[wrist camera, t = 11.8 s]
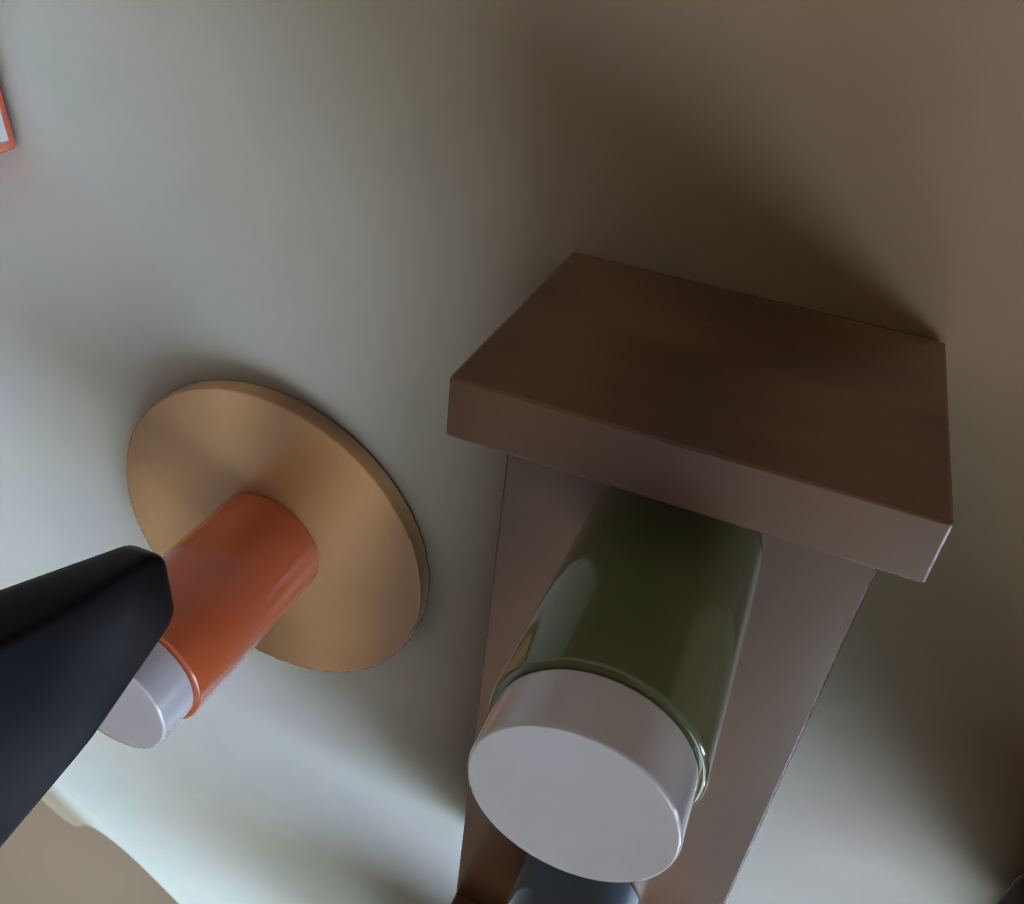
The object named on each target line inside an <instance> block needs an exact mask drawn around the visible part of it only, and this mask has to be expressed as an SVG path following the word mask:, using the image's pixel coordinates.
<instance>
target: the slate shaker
mask: <svg viewBox="0 0 1024 904" xmlns="http://www.w3.org/2000/svg"><path fill="white" fill-rule="evenodd" d="M506 904H640V903H639V898H638V896H637V893H636V892H635V890H634V888H633V887H632V885H631V884H630V883H629V882H626V883H615V882H603V881H597V880H592V879H587V878H583V877H579V876H576V875H573V874H570V873H567V872H565V871H562V870H560V869H557V868H555V867H553V866H551V865H548V864H546V863H544V862H542V861H541V860H539V859H537V858H535V857H534V856H532V855H530V854H528V855H527V856H526V857H525V859H524V861H523V863H522V866H521V868H520V870H519V873H518V875H517V878H516V880H515V882H514V885H513V887H512V890H511V892H510V895H509V897H508V899H507V902H506Z"/></svg>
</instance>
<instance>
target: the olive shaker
mask: <svg viewBox="0 0 1024 904" xmlns="http://www.w3.org/2000/svg"><path fill="white" fill-rule="evenodd" d="M761 565H762V547H761V542H760V538H759V535H758V533H757V531H754V530H750V529H747V528H744V527H741V526H738V525H734V524H731V523H728V522H725V521H722V520H718V519H715V518H712V517H709V516H706V515H702V514H699V513H696V512H693V511H690V510H686V509H683V508H680V507H677V506H674V505H670V504H667V503H664V502H661V501H658V500H654V499H651V498H648V497H645V496H642V495H638V494H635V493H632V492H629V491H626V490H622V489H619V488H616V487H613V486H608V487H607V488H606V489H605V490H604V491H603V492H602V493H601V494H600V495H599V497H598V498H597V499H596V501H595V502H594V504H593V506H592V508H591V510H590V511H589V513H588V515H587V517H586V519H585V521H584V522H583V524H582V526H581V528H580V530H579V532H578V534H577V535H576V537H575V539H574V541H573V543H572V545H571V546H570V548H569V550H568V552H567V554H566V556H565V557H564V559H563V561H562V563H561V565H560V567H559V568H558V570H557V572H556V574H555V576H554V578H553V579H552V581H551V583H550V585H549V587H548V589H547V590H546V592H545V594H544V596H543V598H542V600H541V601H540V603H539V605H538V607H537V609H536V611H535V613H534V614H533V616H532V618H531V620H530V622H529V624H528V625H527V627H526V629H525V631H524V633H523V635H522V636H521V638H520V640H519V642H518V644H517V646H516V647H515V649H514V651H513V653H512V655H511V657H510V658H509V660H508V662H507V664H506V666H505V668H504V669H503V671H502V673H501V675H500V677H499V679H498V680H497V682H496V684H495V686H494V689H493V691H492V693H491V697H490V702H489V716H488V718H487V720H486V722H485V724H484V726H483V728H482V730H481V732H480V733H479V735H478V737H477V739H476V741H475V743H474V745H473V747H472V749H471V751H470V754H469V758H468V779H469V784H470V787H471V790H472V793H473V795H474V797H475V799H476V801H477V803H478V804H479V806H480V808H481V809H482V811H483V812H484V813H485V815H486V816H487V817H488V819H489V820H490V821H491V822H492V823H493V824H494V825H495V826H496V828H497V829H498V830H499V831H500V832H501V833H503V834H504V835H505V836H506V837H507V838H508V839H509V840H511V841H512V842H513V843H514V844H516V845H517V846H518V847H520V848H521V849H523V850H524V851H526V852H527V853H529V854H530V855H532V856H534V857H535V858H537V859H539V860H541V861H542V862H544V863H546V864H548V865H551V866H553V867H555V868H557V869H560V870H562V871H565V872H567V873H570V874H573V875H576V876H579V877H583V878H587V879H592V880H597V881H603V882H615V883H626V882H636V881H642V880H646V879H649V878H652V877H654V876H656V875H658V874H660V873H662V872H664V871H665V870H666V869H667V868H669V867H670V866H671V865H672V864H673V862H674V861H675V860H676V859H677V857H678V855H679V853H680V851H681V849H682V845H683V841H684V837H685V833H686V829H687V825H688V821H689V817H690V813H691V810H692V808H693V807H694V806H695V805H696V804H697V803H698V802H699V800H700V799H701V798H702V797H703V795H704V793H705V791H706V789H707V786H708V782H709V779H710V775H711V770H712V766H713V762H714V758H715V754H716V750H717V746H718V742H719V738H720V734H721V729H722V725H723V721H724V717H725V713H726V709H727V705H728V701H729V697H730V692H731V688H732V684H733V680H734V676H735V672H736V668H737V664H738V660H739V656H740V651H741V647H742V643H743V639H744V635H745V631H746V627H747V623H748V619H749V614H750V610H751V606H752V602H753V598H754V594H755V590H756V586H757V582H758V578H759V573H760V569H761Z"/></svg>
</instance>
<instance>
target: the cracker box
mask: <svg viewBox="0 0 1024 904" xmlns="http://www.w3.org/2000/svg"><path fill="white" fill-rule="evenodd" d="M15 146H16V141H15V138H14V134H13V130H12V126H11V123H10V119H9V116H8V113H7V109H6V106H5V103H4V99H3V95H2V91H1V87H0V153H2V152H5V151H8V150H11V149H13V148H15Z"/></svg>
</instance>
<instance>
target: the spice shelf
mask: <svg viewBox="0 0 1024 904" xmlns="http://www.w3.org/2000/svg"><path fill="white" fill-rule="evenodd" d="M447 434H448V435H449V436H453V437H456V438H459V439H462V440H465V441H469V442H472V443H475V444H478V445H481V446H485V447H488V448H491V449H494V450H497V451H501V452H504V453H507V454H508V456H507V465H506V473H505V482H504V490H503V499H502V508H501V516H500V525H499V533H498V542H497V550H496V559H495V568H494V576H493V585H492V593H491V602H490V610H489V619H488V628H487V636H486V645H485V653H484V662H483V671H482V679H481V688H480V696H479V705H478V713H477V722H476V731H475V739H474V743H475V741H476V739H477V737H478V735H479V733H480V732H481V730H482V728H483V726H484V724H485V722H486V720H487V718H488V716H489V702H490V697H491V693H492V691H493V689H494V686H495V684H496V682H497V680H498V679H499V677H500V675H501V673H502V671H503V669H504V668H505V666H506V664H507V662H508V660H509V658H510V657H511V655H512V653H513V651H514V649H515V647H516V646H517V644H518V642H519V640H520V638H521V636H522V635H523V633H524V631H525V629H526V627H527V625H528V624H529V622H530V620H531V618H532V616H533V614H534V613H535V611H536V609H537V607H538V605H539V603H540V601H541V600H542V598H543V596H544V594H545V592H546V590H547V589H548V587H549V585H550V583H551V581H552V579H553V578H554V576H555V574H556V572H557V570H558V568H559V567H560V565H561V563H562V561H563V559H564V557H565V556H566V554H567V552H568V550H569V548H570V546H571V545H572V543H573V541H574V539H575V537H576V535H577V534H578V532H579V530H580V528H581V526H582V524H583V522H584V521H585V519H586V517H587V515H588V513H589V511H590V510H591V508H592V506H593V504H594V502H595V501H596V499H597V498H598V497H599V495H600V494H601V493H602V492H603V491H604V490H605V489H606V488H607V487H608V486H613V487H616V488H619V489H622V490H626V491H629V492H632V493H635V494H638V495H642V496H645V497H648V498H651V499H654V500H658V501H661V502H664V503H667V504H670V505H674V506H677V507H680V508H683V509H686V510H690V511H693V512H696V513H699V514H702V515H706V516H709V517H712V518H715V519H718V520H722V521H725V522H728V523H731V524H734V525H738V526H741V527H744V528H747V529H750V530H754V531H757V533H758V535H759V538H760V542H761V547H762V565H761V569H760V573H759V578H758V582H757V586H756V590H755V594H754V598H753V602H752V606H751V610H750V614H749V619H748V623H747V627H746V631H745V635H744V639H743V643H742V647H741V651H740V656H739V660H738V664H737V668H736V672H735V676H734V680H733V684H732V688H731V692H730V697H729V701H728V705H727V709H726V713H725V717H724V721H723V725H722V729H721V734H720V738H719V742H718V746H717V750H716V754H715V758H714V762H713V766H712V770H711V775H710V779H709V782H708V786H707V789H706V791H705V793H704V795H703V797H702V798H701V799H700V800H699V802H698V803H697V804H696V805H695V806H694V807H693V808H692V810H691V813H690V817H689V821H688V825H687V829H686V833H685V837H684V841H683V845H682V849H681V851H680V853H679V855H678V857H677V859H676V860H675V861H674V862H673V864H672V865H671V866H670V867H669V868H667V869H666V870H665V871H664V872H662V873H660V874H658V875H656V876H654V877H652V878H649V879H646V880H642V881H636V882H629V883H630V884H631V885H632V887H633V888H634V890H635V892H636V893H637V896H638V898H639V903H640V904H725V903H726V901H727V898H728V896H729V894H730V892H731V890H732V887H733V885H734V883H735V881H736V879H737V876H738V874H739V872H740V870H741V868H742V865H743V863H744V861H745V859H746V857H747V854H748V852H749V850H750V848H751V846H752V843H753V841H754V839H755V837H756V835H757V832H758V830H759V828H760V826H761V824H762V821H763V819H764V817H765V815H766V812H767V810H768V808H769V806H770V804H771V801H772V799H773V797H774V795H775V793H776V790H777V788H778V786H779V784H780V782H781V779H782V777H783V775H784V773H785V771H786V768H787V766H788V764H789V762H790V760H791V757H792V755H793V753H794V751H795V749H796V746H797V744H798V742H799V740H800V738H801V735H802V733H803V731H804V729H805V727H806V724H807V722H808V720H809V718H810V716H811V713H812V711H813V709H814V707H815V705H816V702H817V700H818V698H819V696H820V694H821V691H822V689H823V687H824V685H825V683H826V680H827V678H828V676H829V674H830V672H831V669H832V667H833V665H834V663H835V661H836V658H837V656H838V654H839V652H840V650H841V647H842V645H843V643H844V641H845V639H846V636H847V634H848V632H849V630H850V628H851V625H852V623H853V621H854V619H855V617H856V614H857V612H858V610H859V608H860V606H861V603H862V601H863V599H864V597H865V595H866V592H867V590H868V588H869V586H870V584H871V581H872V579H873V577H874V575H875V573H876V570H877V569H879V570H882V571H885V572H888V573H891V574H895V575H898V576H901V577H904V578H907V579H911V580H914V581H917V582H920V583H923V582H925V581H926V579H927V577H928V575H929V573H930V571H931V569H932V567H933V565H934V563H935V561H936V559H937V557H938V555H939V553H940V551H941V549H942V547H943V545H944V543H945V541H946V539H947V537H948V535H949V533H950V531H951V529H952V527H953V504H952V482H951V461H950V439H949V417H948V395H947V373H946V351H945V343H943V342H939V341H935V340H931V339H927V338H923V337H919V336H914V335H910V334H906V333H902V332H898V331H894V330H890V329H886V328H882V327H877V326H873V325H869V324H865V323H861V322H857V321H853V320H849V319H845V318H840V317H836V316H832V315H828V314H824V313H820V312H816V311H812V310H808V309H803V308H799V307H795V306H791V305H787V304H783V303H779V302H775V301H771V300H767V299H762V298H758V297H754V296H750V295H746V294H742V293H738V292H734V291H730V290H725V289H721V288H717V287H713V286H709V285H705V284H701V283H697V282H693V281H688V280H684V279H680V278H676V277H672V276H668V275H664V274H660V273H656V272H652V271H647V270H643V269H639V268H635V267H631V266H627V265H623V264H619V263H615V262H610V261H606V260H602V259H598V258H594V257H590V256H586V255H582V254H578V253H572V254H571V255H570V256H569V257H568V258H567V259H566V260H565V261H564V262H563V263H562V264H561V265H560V266H559V267H558V268H557V269H556V270H555V271H554V272H553V273H552V274H551V275H550V276H549V277H548V278H547V279H546V280H545V281H544V282H543V283H542V284H541V285H540V286H539V287H538V288H537V289H536V290H535V291H534V292H533V294H532V295H531V296H530V297H529V298H528V299H527V300H526V301H525V302H524V303H523V304H522V305H521V306H520V307H519V308H518V309H517V310H516V311H515V312H514V313H513V314H512V315H511V316H510V317H509V318H508V319H507V320H506V321H505V322H504V323H503V324H502V325H501V326H500V327H499V328H498V329H497V330H496V331H495V332H494V333H493V334H492V335H491V336H490V337H489V338H488V339H487V340H486V341H485V342H484V343H483V344H482V345H481V346H480V347H479V348H478V349H477V350H476V351H475V352H474V353H473V354H472V355H471V356H470V357H469V358H468V359H467V360H466V361H465V362H464V363H463V364H462V366H461V367H460V368H459V369H458V370H457V371H456V372H455V373H454V374H453V375H452V376H451V377H450V390H449V405H448V420H447ZM528 854H529V853H527V852H526V851H524V850H523V849H521V848H520V847H518V846H517V845H516V844H514V843H513V842H512V841H511V840H509V839H508V838H507V837H506V836H505V835H504V834H503V833H501V832H500V831H499V830H498V829H497V828H496V826H495V825H494V824H493V823H492V822H491V821H490V820H489V819H488V817H487V816H486V815H485V813H484V812H483V811H482V809H481V808H480V806H479V804H478V803H477V801H476V799H475V797H474V795H473V793H472V790H471V787H470V784H469V791H468V799H467V808H466V816H465V825H464V834H463V842H462V851H461V859H460V868H459V876H458V885H457V893H456V895H455V897H454V899H453V901H452V903H451V904H506V902H507V899H508V897H509V895H510V892H511V890H512V887H513V885H514V882H515V880H516V878H517V875H518V873H519V870H520V868H521V866H522V863H523V861H524V859H525V857H526V856H527V855H528Z"/></svg>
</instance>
